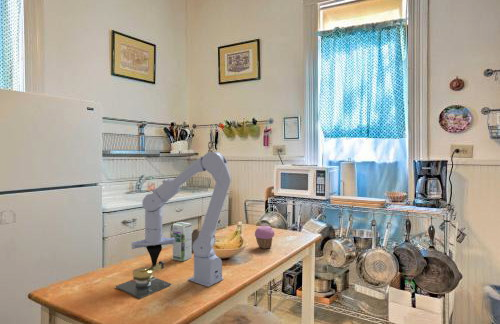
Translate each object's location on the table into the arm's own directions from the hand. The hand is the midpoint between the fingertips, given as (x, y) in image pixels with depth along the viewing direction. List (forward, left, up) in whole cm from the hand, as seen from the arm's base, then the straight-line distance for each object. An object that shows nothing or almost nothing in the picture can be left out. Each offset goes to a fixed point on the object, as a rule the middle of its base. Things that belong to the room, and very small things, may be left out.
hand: (154, 266), depth 115 cm
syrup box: (+7, -20, -4) cm, 21 cm away
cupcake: (-12, -52, -4) cm, 53 cm away
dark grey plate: (-3, +6, -4) cm, 8 cm away
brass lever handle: (-2, +4, -1) cm, 4 cm away
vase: (+11, -32, -4) cm, 34 cm away
